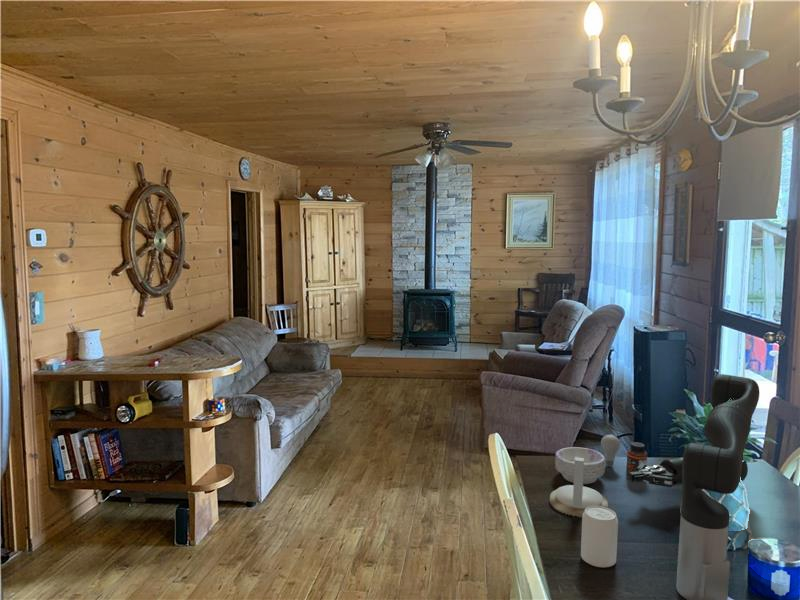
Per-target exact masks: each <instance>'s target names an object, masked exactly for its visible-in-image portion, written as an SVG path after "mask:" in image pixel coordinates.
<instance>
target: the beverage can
mask: <svg viewBox="0 0 800 600" xmlns="http://www.w3.org/2000/svg"><path fill="white" fill-rule="evenodd" d="M581 518H582V519H581V538H580V539H581V542H580V558H581V559H582V560H583V561H584V562H585V563H587V564H589V565H590V566H593V567H595V568H610V567H612V566H614V565H615V564H616V563H617V553H618V551H617V550H618V533H619V530H618V529H619V520H618V517H617V513H616V512H615V511H614V510H612V509H611V508H609V507H608V508H606V507H602V506H590V507H587V508H586V509H585V512H584V513H583V515H582V517H581Z"/></svg>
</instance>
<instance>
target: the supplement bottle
mask: <svg viewBox="0 0 800 600" xmlns="http://www.w3.org/2000/svg"><path fill="white" fill-rule="evenodd" d="M626 455H627V456H626V468H625V469H626V471H625V475H626V478H628V474H629V473H630V472H637V467H638V466H639V465H640V464H641V463H642V462H646V464H647V465H648V452H647V451H646V450H645V444H644V443H642V442H636V441H633V442H631V444H630V448H629V449H628V450H627V453H626Z"/></svg>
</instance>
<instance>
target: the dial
mask: <svg viewBox="0 0 800 600" xmlns="http://www.w3.org/2000/svg"><path fill="white" fill-rule="evenodd" d="M583 473H584V458H579V457H575V463H574V483H573V484H572V485H571V484H566V485H563V486H562V485H561V486H559V487H558V488H557V489H555V490H556V496H555V497H556V499H557V500H558V501H559V502H560V503H562V504H564V505H566V506H569V507H572V508H577V509H586V508H587V507H590V506H601V505H602V496H603V495H602V494H601V493H600V492H599V491H597V490H596V489H593V488H591V487H588V486H584V484H583Z"/></svg>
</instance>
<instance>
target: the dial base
mask: <svg viewBox="0 0 800 600" xmlns="http://www.w3.org/2000/svg"><path fill="white" fill-rule="evenodd" d="M556 490H557V489H555V490H552V492H551V493H550V496H549V503H550V505H551V507H552V508H553V509H554V510H556V511H558V512H560V513H562V514H564V513H565V514H564V515H567V514H568V516H570V515H572V516H571V517H575V516H577V517H576V518H582V515H583V513H584V512H585V509H577V508H572V507H569V506H566V505H564V504H562V503H560V502H559V501H558V500H557V499H556V497H555V496H556ZM608 503H609V502H608V500H607V499H606V498H605V497H604V496H603V495H602V505H601V506H602V507H606V508H609V504H608Z"/></svg>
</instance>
